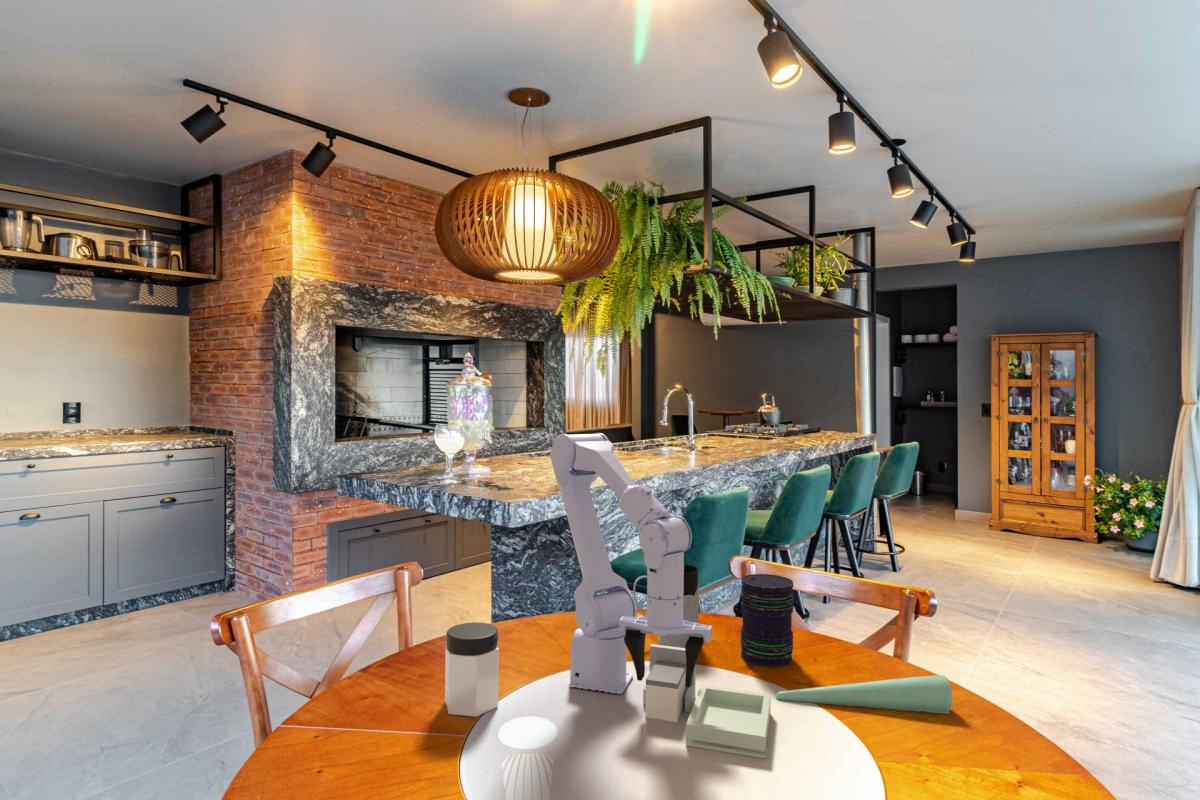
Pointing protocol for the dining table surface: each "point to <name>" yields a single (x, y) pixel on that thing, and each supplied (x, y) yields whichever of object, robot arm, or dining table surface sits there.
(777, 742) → the dining table surface
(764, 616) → the storage jar
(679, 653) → the dock
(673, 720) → the tall grey beige-topped block
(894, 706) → the long green cone
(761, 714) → the tray
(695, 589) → the glass holder
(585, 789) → the dining table surface
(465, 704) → the jar
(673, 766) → the dining table surface
